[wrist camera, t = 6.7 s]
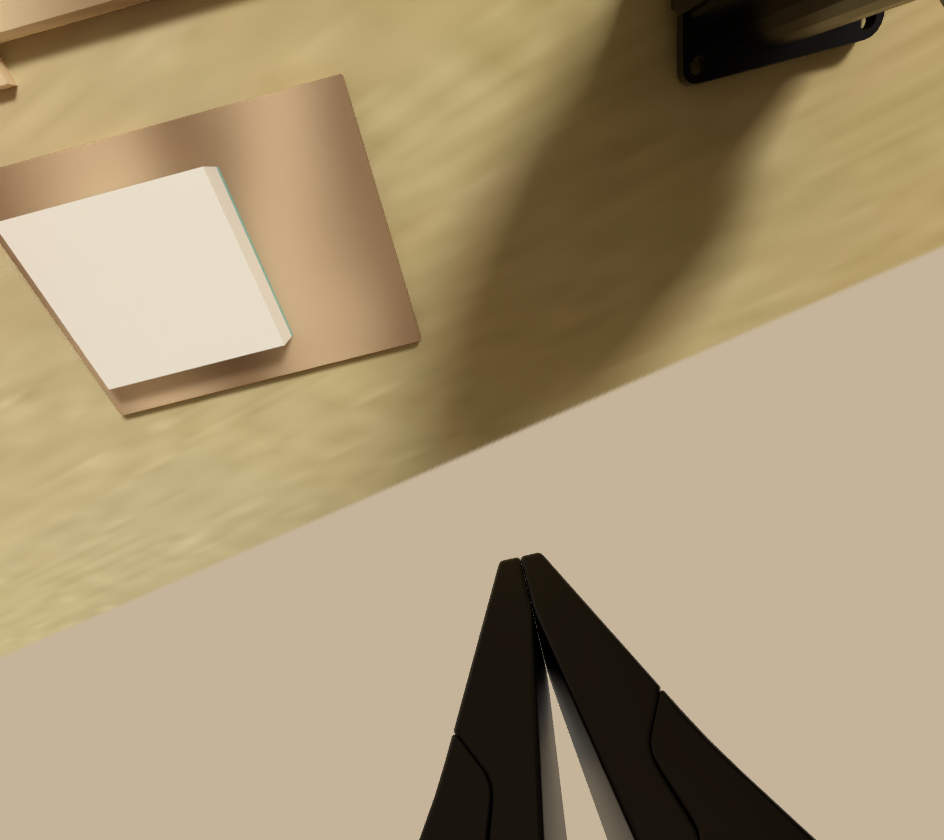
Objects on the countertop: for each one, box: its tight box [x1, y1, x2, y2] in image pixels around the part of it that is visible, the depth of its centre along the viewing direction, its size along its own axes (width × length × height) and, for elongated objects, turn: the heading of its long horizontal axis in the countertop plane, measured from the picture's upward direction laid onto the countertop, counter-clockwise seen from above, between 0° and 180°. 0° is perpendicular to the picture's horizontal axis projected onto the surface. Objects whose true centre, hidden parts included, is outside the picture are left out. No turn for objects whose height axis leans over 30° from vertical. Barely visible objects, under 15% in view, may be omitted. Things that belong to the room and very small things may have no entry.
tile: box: [0, 166, 293, 390], centre depth 16 cm, size 1×6×7 cm
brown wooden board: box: [0, 74, 421, 415], centre depth 17 cm, size 13×9×1 cm
